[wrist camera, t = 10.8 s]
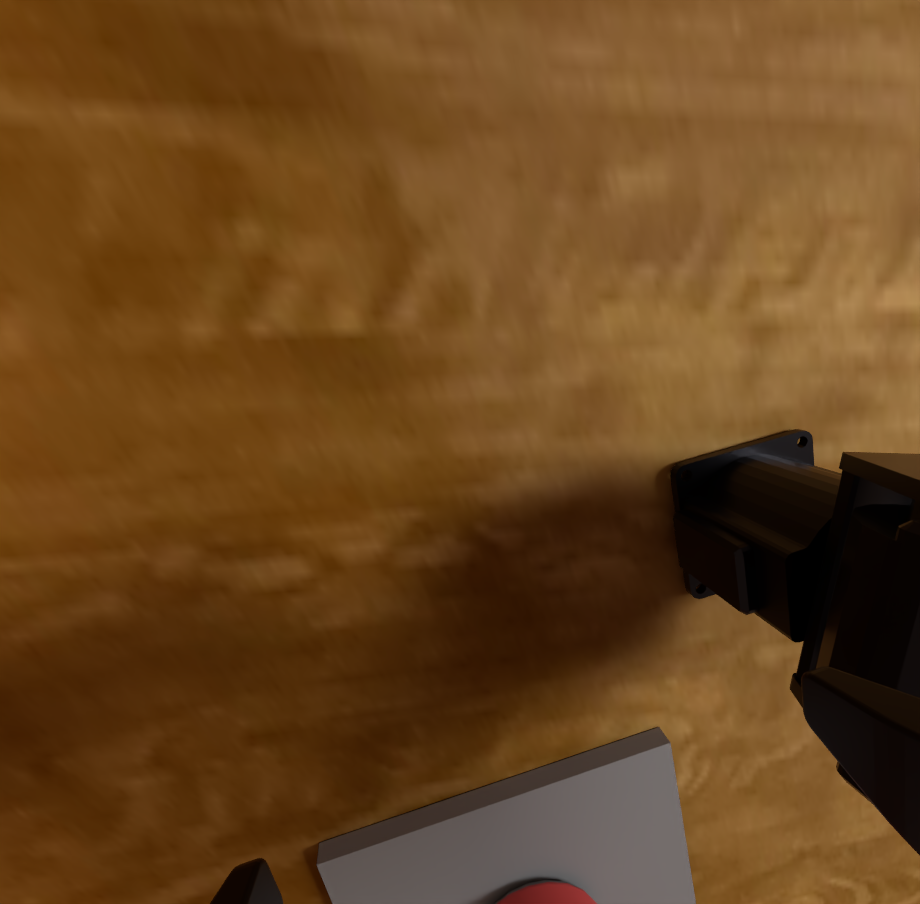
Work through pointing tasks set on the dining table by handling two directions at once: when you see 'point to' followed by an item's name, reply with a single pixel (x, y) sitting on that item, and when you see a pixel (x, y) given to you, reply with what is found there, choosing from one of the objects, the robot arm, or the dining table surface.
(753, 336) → the dining table surface
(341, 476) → the dining table surface
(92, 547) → the dining table surface
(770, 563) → the robot arm
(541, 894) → the beer can
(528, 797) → the slate board
